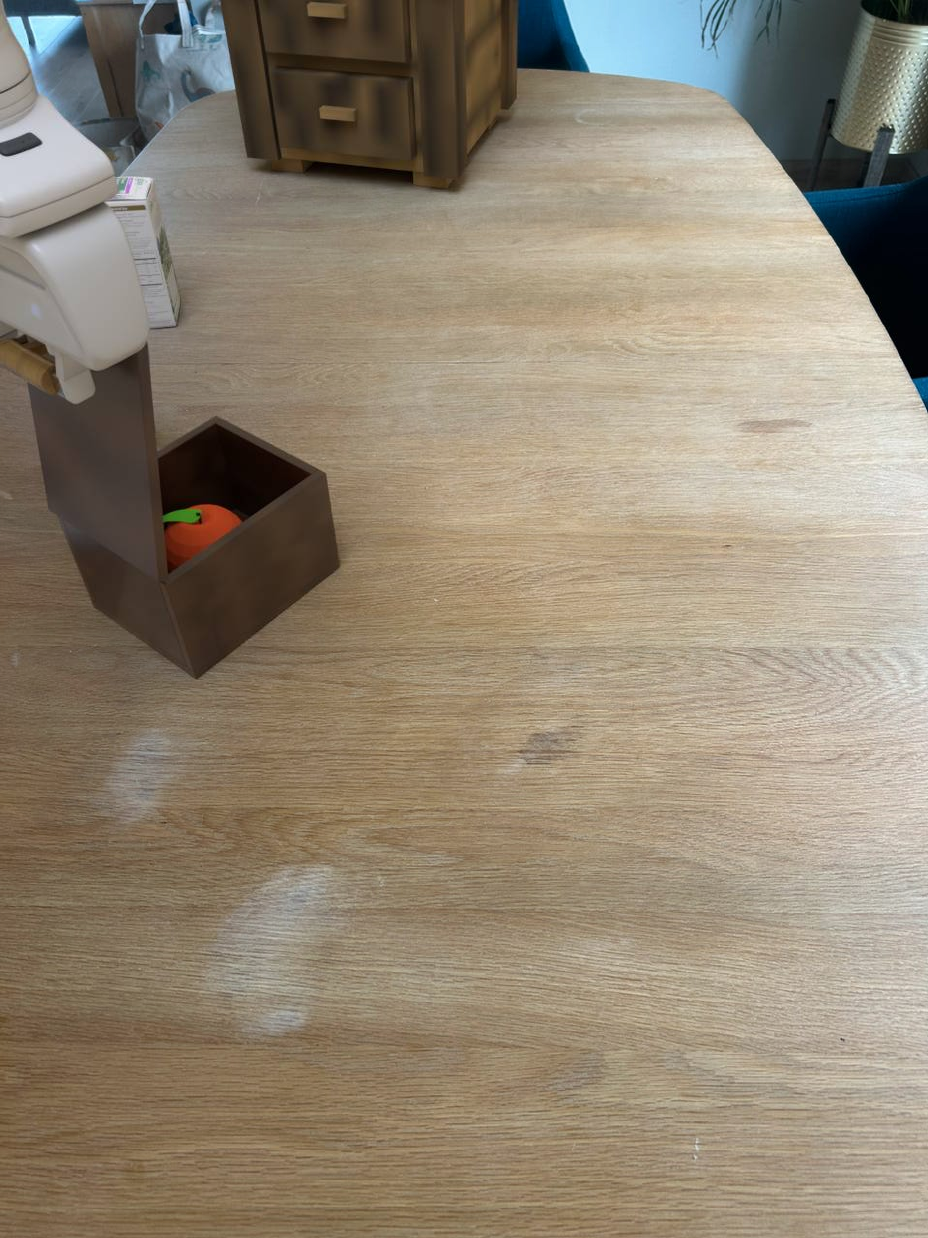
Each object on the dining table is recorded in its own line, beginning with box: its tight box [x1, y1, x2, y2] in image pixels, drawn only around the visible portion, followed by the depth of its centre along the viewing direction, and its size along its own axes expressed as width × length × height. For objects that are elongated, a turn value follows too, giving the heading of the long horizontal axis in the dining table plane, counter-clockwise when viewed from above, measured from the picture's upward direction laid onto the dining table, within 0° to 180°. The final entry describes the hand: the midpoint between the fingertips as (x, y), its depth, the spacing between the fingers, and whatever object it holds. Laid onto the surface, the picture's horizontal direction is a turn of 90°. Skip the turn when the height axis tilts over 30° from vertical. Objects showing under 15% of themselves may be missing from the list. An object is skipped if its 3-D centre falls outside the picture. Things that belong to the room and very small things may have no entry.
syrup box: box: [104, 176, 182, 330], centre depth 107 cm, size 6×6×14 cm
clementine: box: [163, 504, 242, 573], centre depth 79 cm, size 8×7×7 cm
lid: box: [0, 334, 168, 582], centre depth 64 cm, size 17×13×5 cm
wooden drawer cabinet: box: [219, 0, 519, 189], centre depth 134 cm, size 35×35×33 cm
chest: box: [56, 415, 341, 680], centre depth 78 cm, size 16×13×10 cm
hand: (46, 378), depth 61 cm, fingers closed on lid, 5 cm apart
